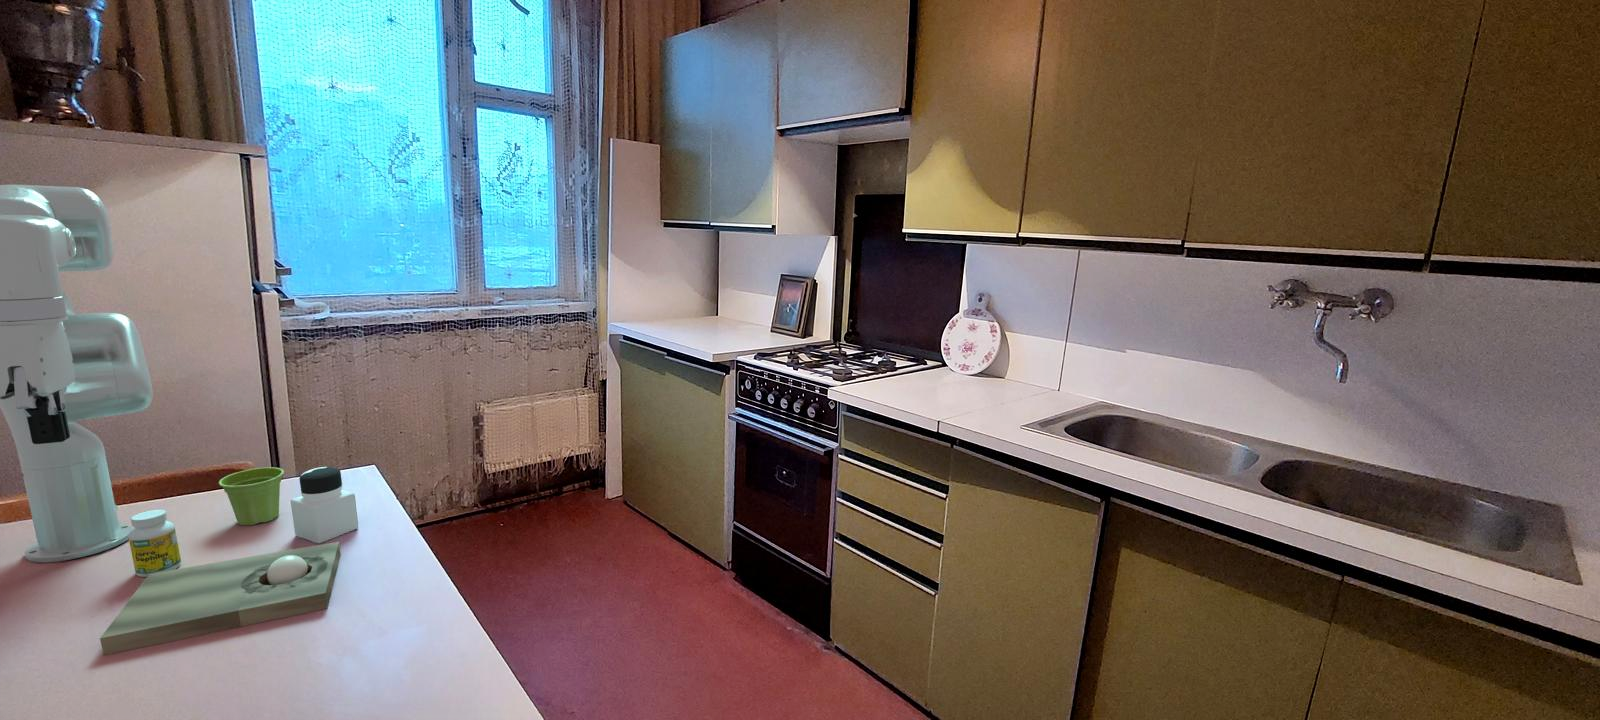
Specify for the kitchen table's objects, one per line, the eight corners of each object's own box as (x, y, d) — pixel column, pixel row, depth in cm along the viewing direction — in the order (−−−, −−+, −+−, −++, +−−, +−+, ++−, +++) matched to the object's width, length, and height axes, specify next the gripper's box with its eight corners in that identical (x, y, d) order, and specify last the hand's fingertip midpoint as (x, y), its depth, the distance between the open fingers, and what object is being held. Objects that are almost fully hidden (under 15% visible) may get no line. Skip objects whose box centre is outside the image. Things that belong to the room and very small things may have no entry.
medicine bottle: (359, 528, 122) (352, 467, 120) (318, 544, 116) (310, 480, 114) (335, 520, 125) (328, 461, 123) (294, 536, 119) (285, 473, 117)
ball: (269, 599, 100) (259, 572, 102) (307, 588, 105) (297, 562, 106) (276, 581, 98) (266, 554, 100) (315, 571, 102) (305, 545, 104)
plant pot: (263, 531, 121) (256, 486, 119) (212, 529, 121) (204, 484, 119) (301, 509, 130) (296, 467, 128) (254, 508, 130) (248, 466, 128)
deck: (152, 588, 101) (149, 573, 101) (340, 554, 113) (339, 541, 112) (103, 655, 86) (99, 638, 85) (327, 608, 97) (325, 592, 97)
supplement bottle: (184, 558, 110) (175, 504, 108) (177, 572, 106) (168, 517, 104) (140, 566, 107) (130, 511, 105) (131, 581, 103) (120, 524, 101)
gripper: (13, 305, 93) (40, 430, 97) (-52, 319, 80) (-19, 462, 84) (88, 303, 97) (110, 423, 100) (36, 317, 84) (64, 454, 87)
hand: (51, 441), depth 92 cm, fingers closed
